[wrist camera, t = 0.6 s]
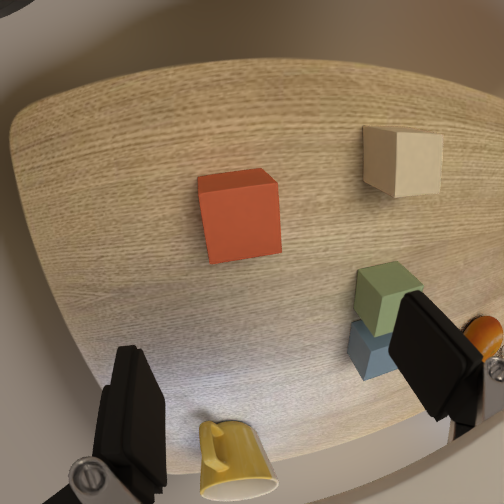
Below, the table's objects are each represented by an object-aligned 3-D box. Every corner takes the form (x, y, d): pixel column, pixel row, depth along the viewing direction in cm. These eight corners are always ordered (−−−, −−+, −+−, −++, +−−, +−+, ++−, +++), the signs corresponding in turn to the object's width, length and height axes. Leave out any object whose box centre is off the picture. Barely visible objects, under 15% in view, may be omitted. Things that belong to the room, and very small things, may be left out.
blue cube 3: (351, 322, 32) (371, 351, 28) (388, 312, 33) (409, 338, 29) (346, 352, 35) (363, 381, 30) (381, 342, 35) (399, 368, 31)
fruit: (469, 369, 40) (500, 375, 33) (444, 353, 40) (476, 359, 32) (485, 327, 42) (516, 327, 34) (461, 307, 42) (494, 306, 34)
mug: (267, 437, 41) (282, 493, 32) (204, 448, 40) (212, 505, 31) (254, 390, 35) (273, 462, 26) (176, 405, 34) (179, 477, 25)
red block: (197, 176, 23) (198, 193, 18) (261, 167, 23) (277, 182, 19) (206, 235, 25) (209, 264, 20) (266, 226, 25) (282, 253, 21)
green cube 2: (357, 269, 29) (382, 296, 25) (397, 260, 30) (424, 285, 25) (353, 308, 32) (374, 337, 27) (390, 298, 32) (413, 324, 28)
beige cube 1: (362, 125, 23) (396, 132, 18) (407, 126, 23) (443, 134, 19) (362, 181, 25) (394, 198, 21) (406, 178, 26) (439, 193, 21)
